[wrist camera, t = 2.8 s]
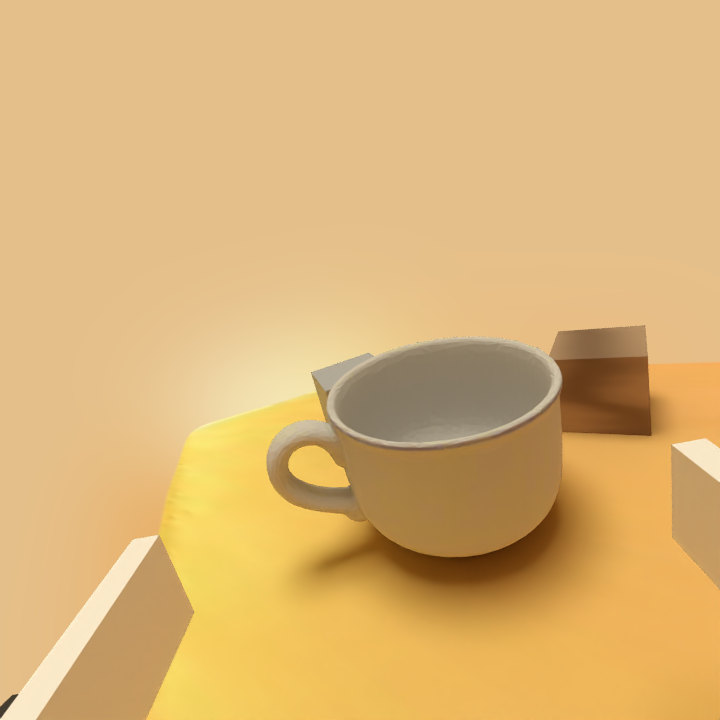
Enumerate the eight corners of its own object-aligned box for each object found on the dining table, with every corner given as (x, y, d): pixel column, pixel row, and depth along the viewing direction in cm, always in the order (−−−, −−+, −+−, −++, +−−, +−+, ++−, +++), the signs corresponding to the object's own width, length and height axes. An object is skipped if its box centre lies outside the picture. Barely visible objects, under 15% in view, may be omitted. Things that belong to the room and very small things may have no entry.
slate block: (382, 406, 38) (368, 352, 36) (405, 428, 33) (390, 368, 31) (327, 427, 37) (311, 372, 35) (343, 452, 32) (325, 391, 30)
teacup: (522, 438, 28) (504, 319, 25) (630, 566, 18) (618, 387, 15) (311, 489, 28) (273, 377, 26) (296, 644, 18) (231, 482, 16)
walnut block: (648, 396, 29) (645, 325, 27) (651, 437, 25) (647, 356, 23) (565, 396, 32) (558, 331, 30) (556, 432, 28) (547, 360, 26)
